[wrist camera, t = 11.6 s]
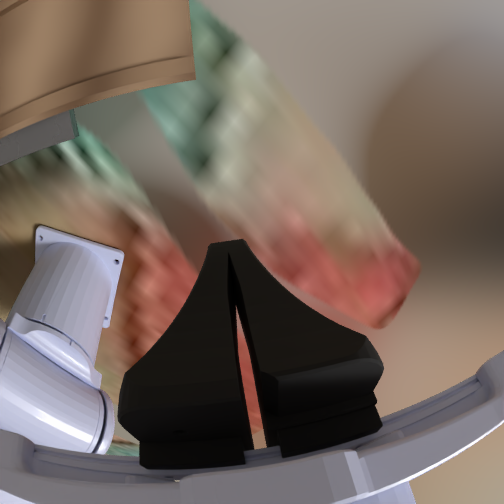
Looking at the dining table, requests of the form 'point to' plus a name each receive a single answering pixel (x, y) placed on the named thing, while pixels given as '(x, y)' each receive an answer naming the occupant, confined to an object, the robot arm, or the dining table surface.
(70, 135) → the pivot stand
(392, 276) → the dining table surface
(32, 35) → the beam
